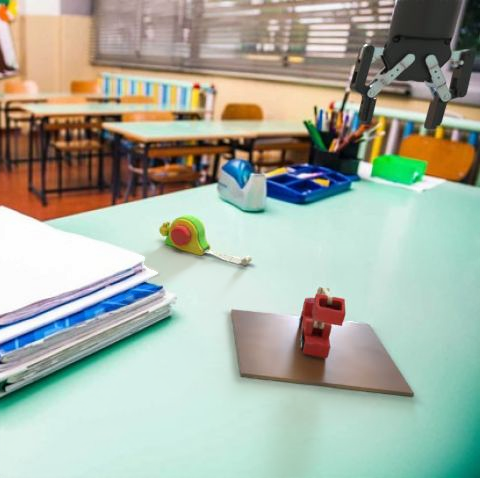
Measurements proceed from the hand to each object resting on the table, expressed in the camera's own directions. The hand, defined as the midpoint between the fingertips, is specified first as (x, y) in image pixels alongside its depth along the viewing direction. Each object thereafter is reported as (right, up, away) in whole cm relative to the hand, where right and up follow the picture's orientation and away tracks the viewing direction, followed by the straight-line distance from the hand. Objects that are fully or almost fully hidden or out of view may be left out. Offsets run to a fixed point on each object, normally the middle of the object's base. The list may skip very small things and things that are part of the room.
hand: (397, 126), depth 69 cm
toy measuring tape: (-23, -18, +28) cm, 40 cm away
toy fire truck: (-13, -30, -3) cm, 33 cm away
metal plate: (-13, -31, -2) cm, 33 cm away
